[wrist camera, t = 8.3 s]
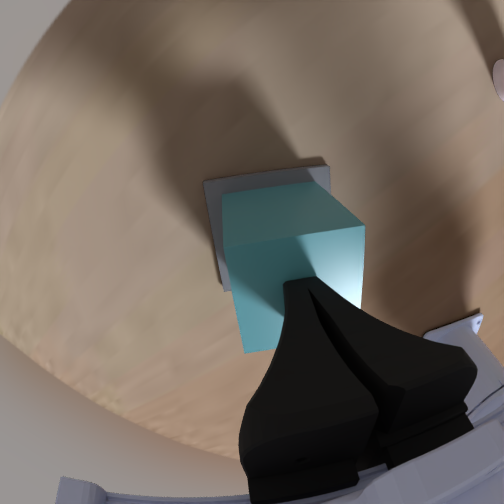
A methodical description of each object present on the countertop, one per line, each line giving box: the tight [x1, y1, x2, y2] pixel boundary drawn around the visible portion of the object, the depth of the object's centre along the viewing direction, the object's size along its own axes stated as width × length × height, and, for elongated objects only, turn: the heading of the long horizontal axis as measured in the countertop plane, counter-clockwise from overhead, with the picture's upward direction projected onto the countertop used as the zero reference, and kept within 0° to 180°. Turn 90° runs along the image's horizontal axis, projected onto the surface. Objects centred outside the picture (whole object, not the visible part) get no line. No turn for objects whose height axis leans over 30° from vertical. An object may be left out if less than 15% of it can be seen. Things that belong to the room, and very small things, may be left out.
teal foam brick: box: [222, 181, 365, 353], centre depth 15 cm, size 5×5×7 cm
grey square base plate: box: [203, 164, 331, 292], centre depth 16 cm, size 7×7×6 cm
